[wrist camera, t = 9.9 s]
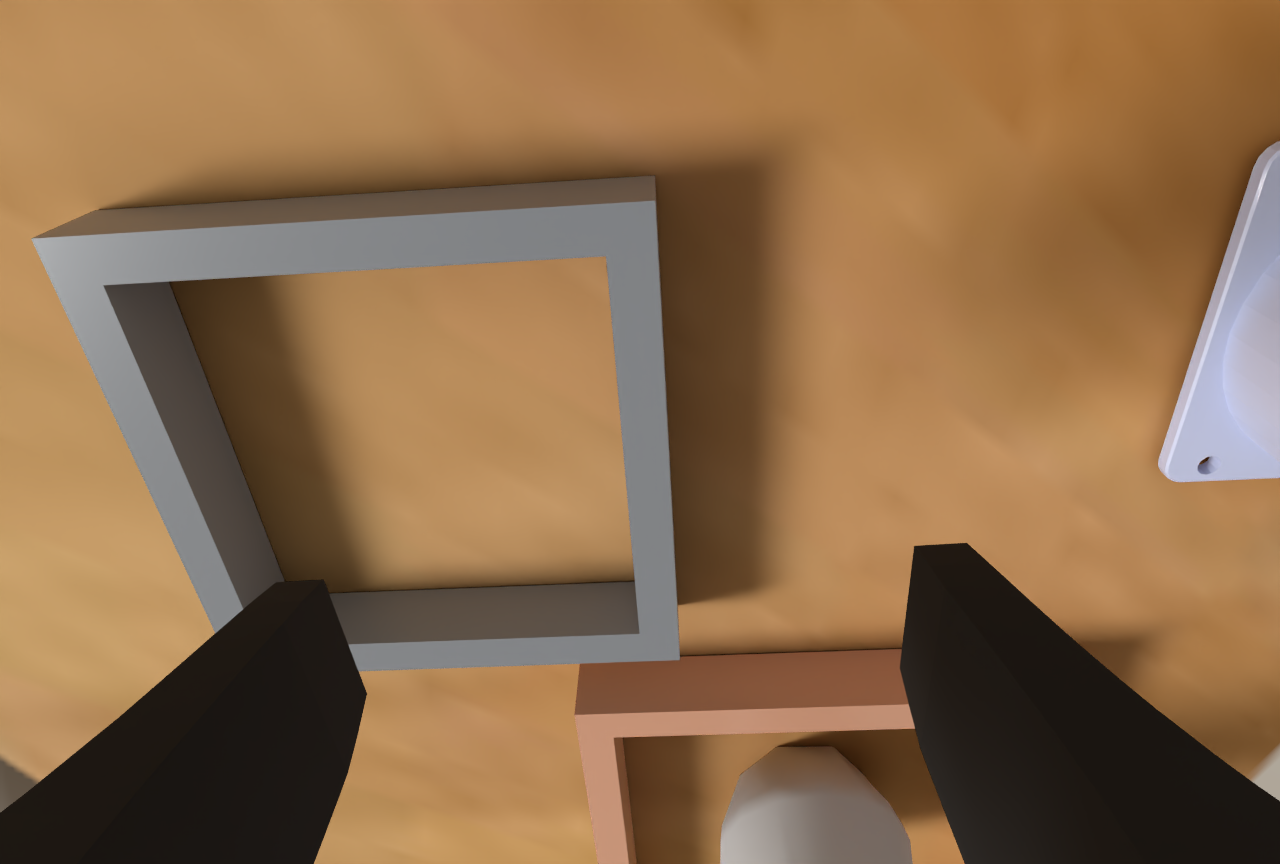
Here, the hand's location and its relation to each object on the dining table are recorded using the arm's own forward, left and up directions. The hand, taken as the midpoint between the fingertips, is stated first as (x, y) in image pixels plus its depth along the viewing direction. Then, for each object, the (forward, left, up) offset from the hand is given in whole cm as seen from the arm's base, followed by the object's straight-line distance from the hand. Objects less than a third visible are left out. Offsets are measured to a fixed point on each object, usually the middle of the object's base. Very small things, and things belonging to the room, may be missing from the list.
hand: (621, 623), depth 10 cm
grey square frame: (+5, +3, -10) cm, 11 cm away
